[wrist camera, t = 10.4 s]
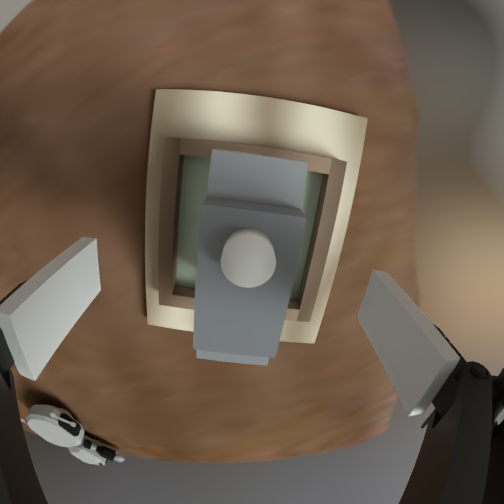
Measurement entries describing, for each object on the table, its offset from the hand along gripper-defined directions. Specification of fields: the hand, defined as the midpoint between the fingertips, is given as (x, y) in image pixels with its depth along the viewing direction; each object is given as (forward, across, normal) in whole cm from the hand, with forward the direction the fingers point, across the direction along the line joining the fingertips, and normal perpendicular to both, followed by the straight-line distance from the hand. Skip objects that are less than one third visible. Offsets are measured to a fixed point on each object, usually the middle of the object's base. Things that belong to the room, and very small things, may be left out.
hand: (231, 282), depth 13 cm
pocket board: (+8, +1, 0) cm, 8 cm away
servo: (+7, +1, 0) cm, 7 cm away
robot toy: (+9, -22, -34) cm, 41 cm away
